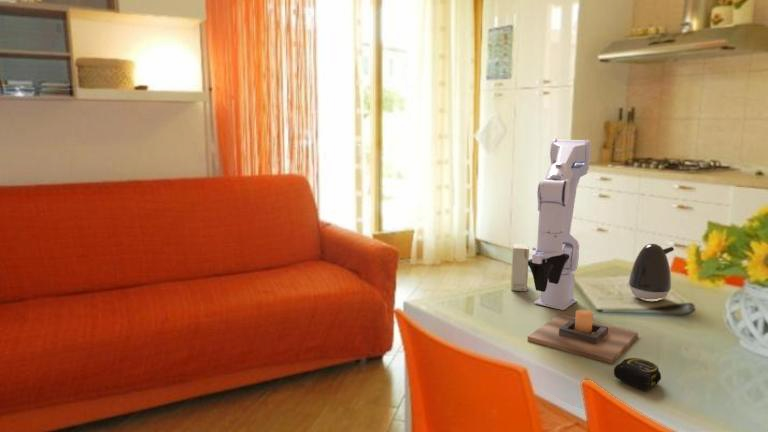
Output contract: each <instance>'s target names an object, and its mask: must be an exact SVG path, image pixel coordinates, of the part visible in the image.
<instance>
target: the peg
mask: <svg viewBox="0 0 768 432" xmlns="http://www.w3.org/2000/svg"><path fill="white" fill-rule="evenodd" d="M574 317H575V331H579V332H583V333H587V334H592V322H594V321H593V319H594V312H592V311H590V310H587V309H578V310H576V311H575V316H574Z"/></svg>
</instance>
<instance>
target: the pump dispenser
mask: <svg viewBox="0 0 768 432" xmlns="http://www.w3.org/2000/svg"><path fill="white" fill-rule="evenodd" d="M674 251H675V248H674V247H673V246H670V247H666V248H663V247H661V245H659V244H657V243H648V244H646V245H645V246H643V247H642V248H641V250H640V251H639V252H638V254H637V256H636V258H635V260H634V262H633V266H632V267H631V270H630V275H629V281H628V285H629V287H630V291H631V293H632V294H633V296H634V295H635V296H636V297H635V296H634V297H635V298H637V297H639V298H644V299H658V298H663V297H665V298H666V297H667V296H668V295H669V292H670V291H671V289H672V273H671V267H670V262H669V259H668V256H667V254H669V253H671V252H674Z"/></svg>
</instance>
